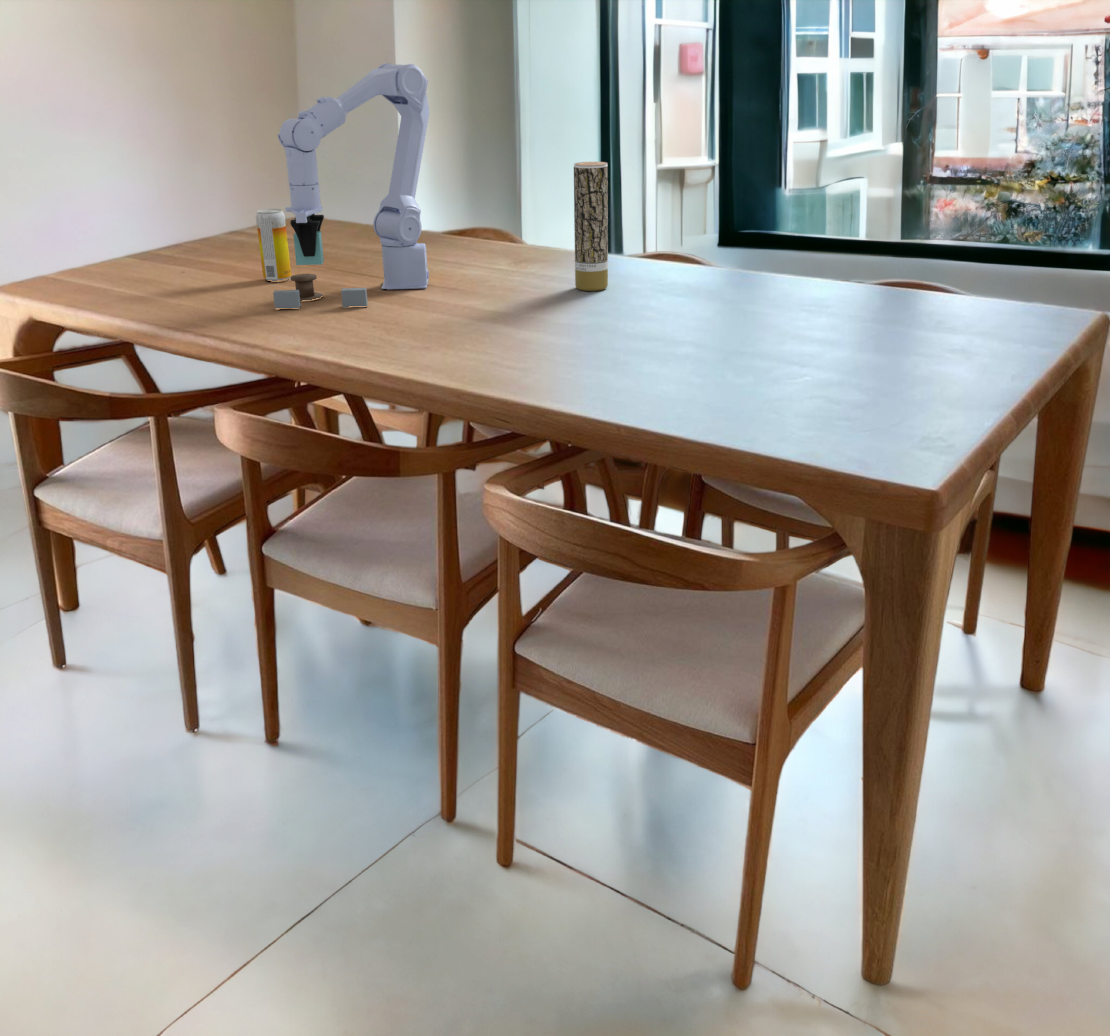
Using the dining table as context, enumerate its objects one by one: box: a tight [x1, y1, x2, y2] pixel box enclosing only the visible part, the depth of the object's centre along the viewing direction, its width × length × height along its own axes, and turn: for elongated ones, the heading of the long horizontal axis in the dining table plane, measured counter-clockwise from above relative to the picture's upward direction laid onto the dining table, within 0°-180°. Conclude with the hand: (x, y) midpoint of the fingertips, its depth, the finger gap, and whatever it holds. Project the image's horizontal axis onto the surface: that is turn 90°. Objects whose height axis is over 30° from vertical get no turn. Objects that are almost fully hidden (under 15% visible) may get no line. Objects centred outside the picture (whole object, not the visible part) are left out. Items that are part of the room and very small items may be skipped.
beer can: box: [255, 208, 292, 281], centre depth 249 cm, size 6×6×15 cm
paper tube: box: [573, 161, 609, 292], centre depth 233 cm, size 7×7×25 cm
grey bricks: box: [272, 287, 369, 309], centre depth 226 cm, size 18×2×4 cm, turn 93°
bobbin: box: [289, 273, 324, 301], centre depth 234 cm, size 7×7×4 cm
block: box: [293, 230, 325, 266], centre depth 227 cm, size 5×3×6 cm, turn 93°
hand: (310, 254), depth 227 cm, fingers closed on block, 3 cm apart
